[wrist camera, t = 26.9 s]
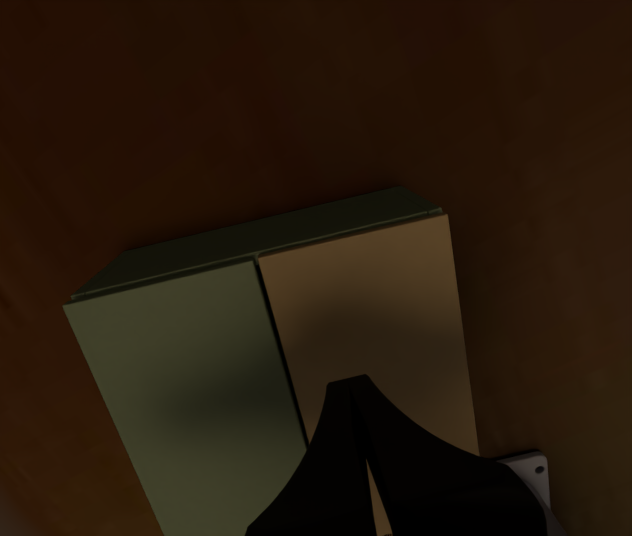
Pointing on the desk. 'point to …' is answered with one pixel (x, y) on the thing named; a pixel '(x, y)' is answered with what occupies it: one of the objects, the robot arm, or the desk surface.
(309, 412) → the sorter lid
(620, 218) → the desk surface
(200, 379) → the box
